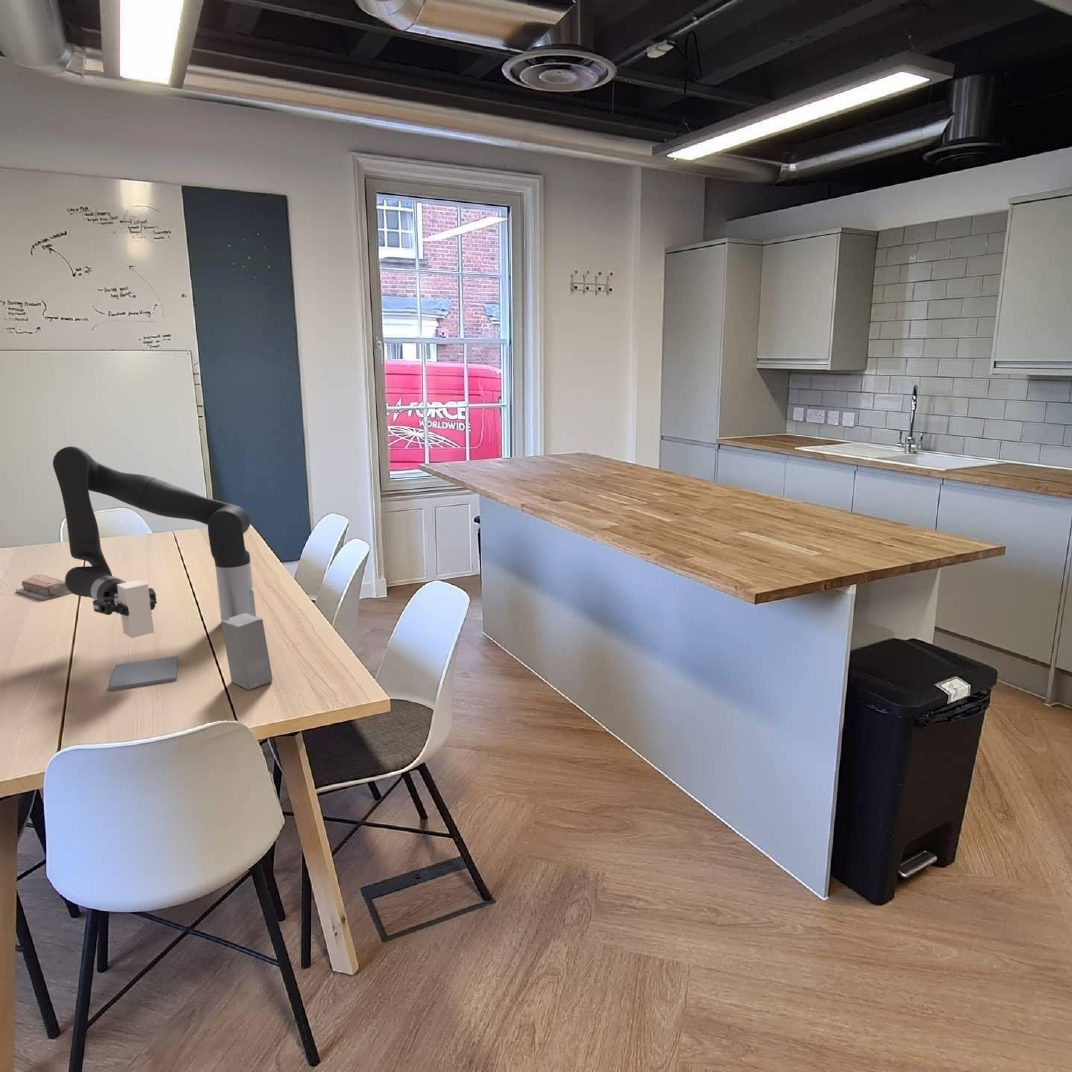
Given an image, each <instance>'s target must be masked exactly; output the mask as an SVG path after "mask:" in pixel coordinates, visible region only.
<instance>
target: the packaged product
mask: <svg viewBox="0 0 1072 1072" xmlns="http://www.w3.org/2000/svg"><path fill="white" fill-rule="evenodd" d="M21 585H22V587H20V588H17V589H15V591H16V592H17V593H19V592H20V594H23V595H26V596H28V595H29V597H31V598H36V599H38V598H39V599H38V600H42V601H48V599H49V600H53V599H56V598H60V597H64V596H68V595H72V594H73V593H71V592H70V591H69V590H68V588H67V587H66V584H65V580H61V579H59V578H55V577H51V576H48V575H45V574H34V575H33V576H30V577H28V578H26V579H25V580H22V581H21Z"/></svg>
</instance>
